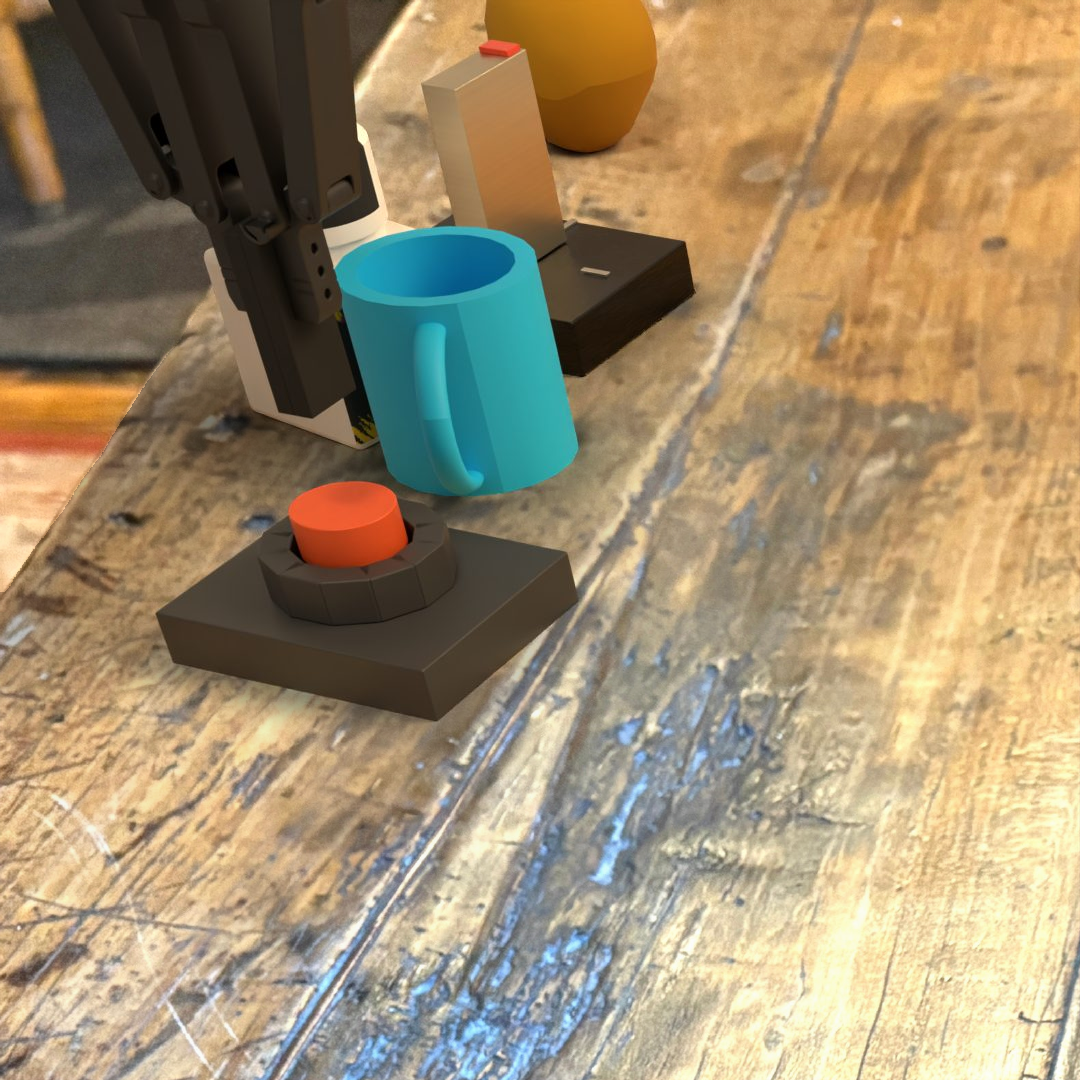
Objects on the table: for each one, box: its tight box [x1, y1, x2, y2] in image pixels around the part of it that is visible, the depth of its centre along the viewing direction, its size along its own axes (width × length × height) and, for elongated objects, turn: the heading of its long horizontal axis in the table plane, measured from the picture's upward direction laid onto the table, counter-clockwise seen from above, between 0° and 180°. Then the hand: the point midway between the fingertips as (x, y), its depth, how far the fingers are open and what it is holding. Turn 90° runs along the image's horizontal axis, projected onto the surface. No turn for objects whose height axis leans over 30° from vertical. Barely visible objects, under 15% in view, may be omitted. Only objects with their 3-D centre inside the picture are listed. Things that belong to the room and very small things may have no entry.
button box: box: [155, 497, 579, 722], centre depth 104 cm, size 12×10×4 cm
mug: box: [334, 226, 580, 498], centre depth 112 cm, size 12×8×8 cm
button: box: [287, 480, 408, 568], centre depth 102 cm, size 4×4×2 cm
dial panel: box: [431, 213, 696, 377], centre depth 125 cm, size 12×10×3 cm
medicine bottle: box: [203, 122, 415, 451], centre depth 115 cm, size 7×7×12 cm
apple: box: [484, 0, 658, 153], centre depth 138 cm, size 8×8×9 cm
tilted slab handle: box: [420, 40, 567, 260], centre depth 121 cm, size 6×2×9 cm, turn 160°
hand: (317, 400), depth 98 cm, fingers closed
